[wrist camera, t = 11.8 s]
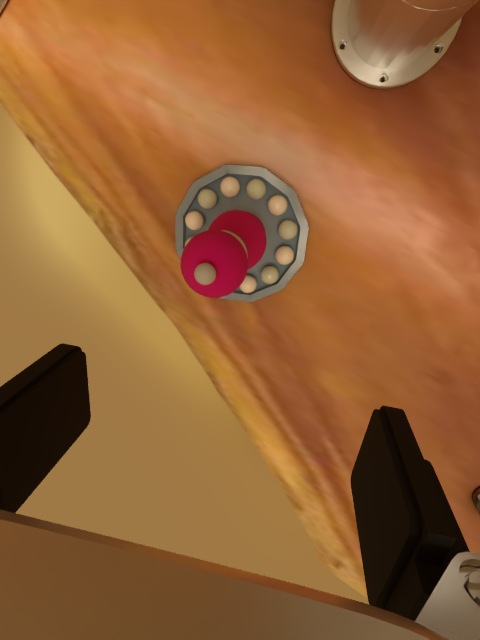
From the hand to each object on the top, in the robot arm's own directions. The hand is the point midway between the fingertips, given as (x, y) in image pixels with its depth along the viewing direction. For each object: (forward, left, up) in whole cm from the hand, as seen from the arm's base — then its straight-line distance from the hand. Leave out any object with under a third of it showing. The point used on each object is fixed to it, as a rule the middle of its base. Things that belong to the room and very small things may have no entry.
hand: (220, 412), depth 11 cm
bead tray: (+1, -5, -38) cm, 38 cm away
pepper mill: (+1, -5, -37) cm, 37 cm away
